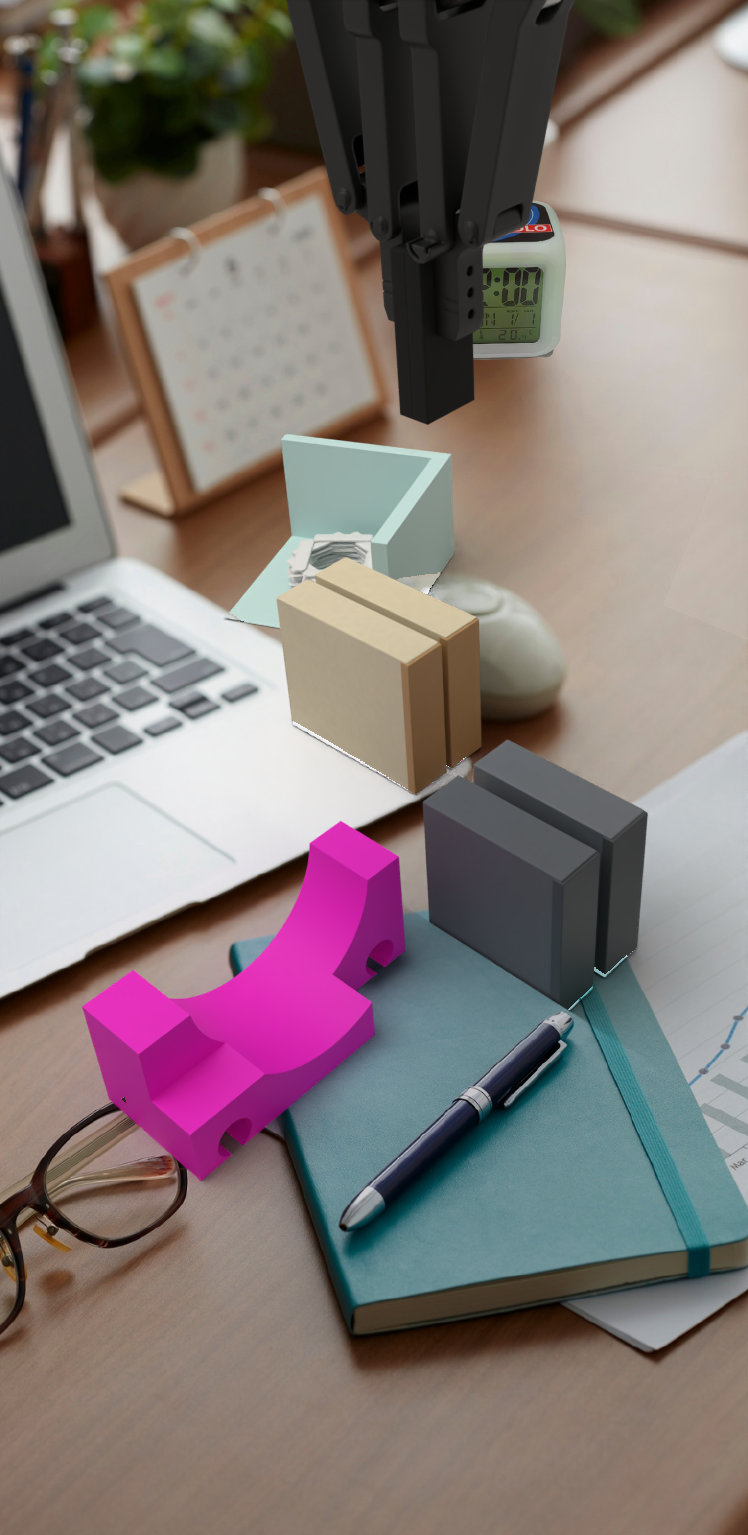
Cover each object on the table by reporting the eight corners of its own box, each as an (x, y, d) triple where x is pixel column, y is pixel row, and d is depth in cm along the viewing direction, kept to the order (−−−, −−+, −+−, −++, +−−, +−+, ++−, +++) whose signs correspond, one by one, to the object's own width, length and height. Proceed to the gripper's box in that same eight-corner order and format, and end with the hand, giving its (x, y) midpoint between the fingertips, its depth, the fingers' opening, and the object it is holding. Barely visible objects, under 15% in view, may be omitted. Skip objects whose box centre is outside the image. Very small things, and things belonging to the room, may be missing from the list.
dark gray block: (605, 980, 67) (613, 840, 62) (475, 901, 72) (472, 764, 66) (637, 949, 69) (648, 810, 63) (508, 874, 73) (507, 737, 68)
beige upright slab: (451, 770, 80) (447, 638, 74) (326, 702, 86) (313, 574, 80) (482, 748, 82) (479, 617, 76) (356, 682, 87) (346, 555, 82)
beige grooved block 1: (415, 797, 79) (408, 664, 73) (291, 725, 84) (274, 597, 79) (447, 774, 80) (442, 642, 74) (322, 704, 86) (308, 577, 80)
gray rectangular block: (558, 1023, 66) (563, 883, 60) (429, 939, 70) (421, 802, 65) (593, 991, 67) (600, 851, 61) (463, 910, 72) (459, 774, 66)
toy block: (205, 1200, 59) (178, 1088, 55) (114, 1118, 63) (81, 1006, 58) (445, 995, 67) (439, 881, 63) (352, 932, 71) (340, 820, 66)
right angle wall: (296, 529, 102) (286, 433, 97) (454, 552, 98) (451, 453, 94) (224, 618, 94) (208, 518, 89) (393, 647, 90) (386, 544, 85)
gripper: (669, -379, 39) (630, 417, 54) (340, -359, 46) (386, 335, 61) (488, -355, 35) (500, 495, 50) (160, -338, 42) (257, 397, 58)
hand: (437, 406), depth 56 cm, fingers closed
